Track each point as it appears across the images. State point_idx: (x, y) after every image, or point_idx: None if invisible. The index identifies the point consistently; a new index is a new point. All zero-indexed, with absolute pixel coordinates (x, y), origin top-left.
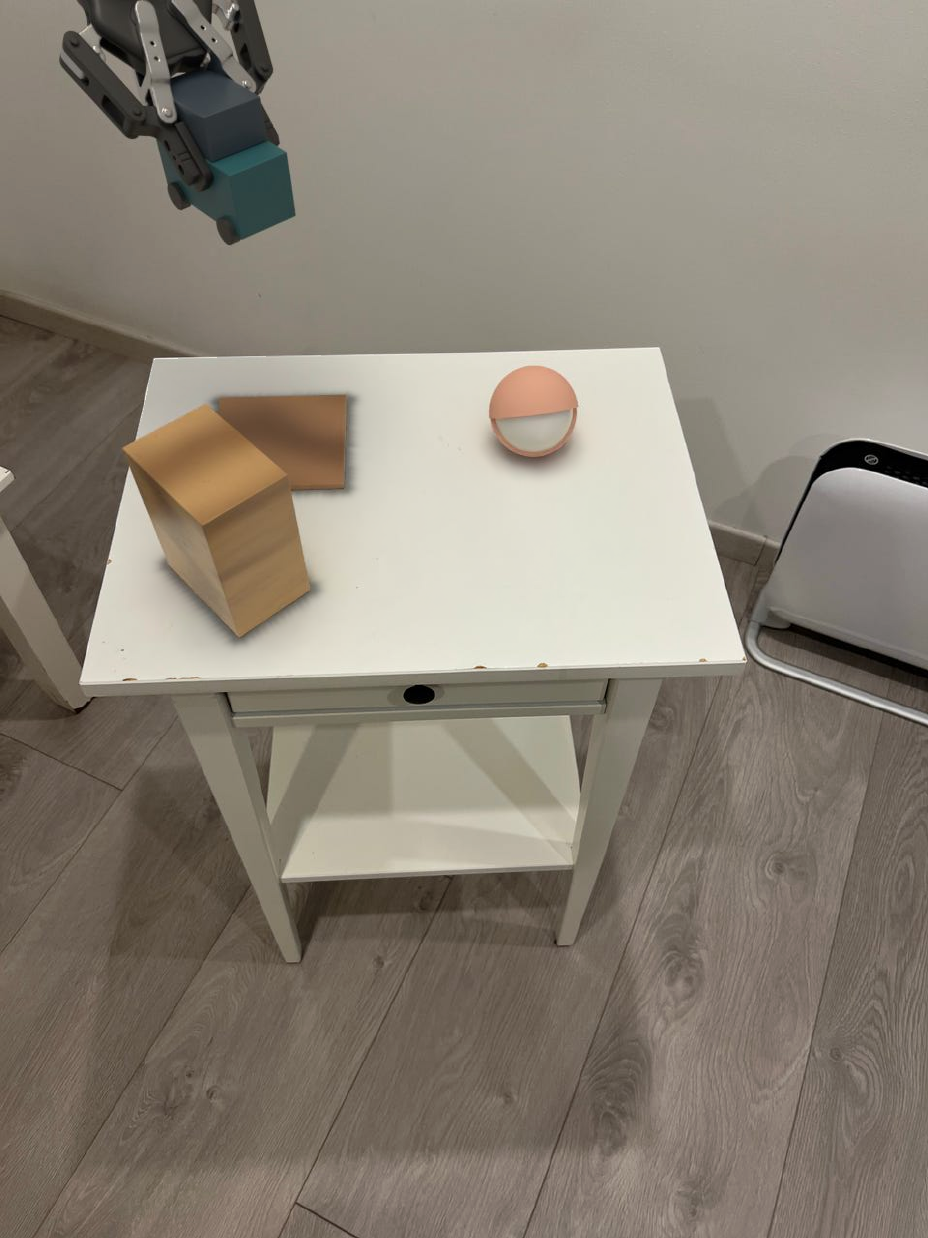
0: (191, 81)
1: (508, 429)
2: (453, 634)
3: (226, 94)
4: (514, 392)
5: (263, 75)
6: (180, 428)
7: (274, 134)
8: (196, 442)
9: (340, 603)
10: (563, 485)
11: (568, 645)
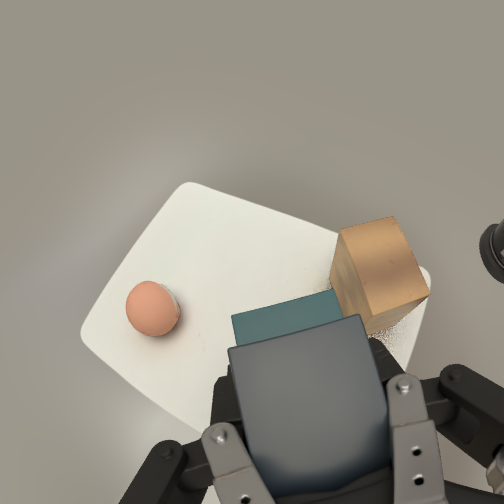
0: (327, 467)
1: (174, 300)
2: (274, 226)
3: (284, 387)
4: (157, 300)
5: (178, 443)
6: (394, 296)
7: (219, 385)
8: (387, 278)
9: (317, 263)
10: (170, 281)
11: (232, 203)
